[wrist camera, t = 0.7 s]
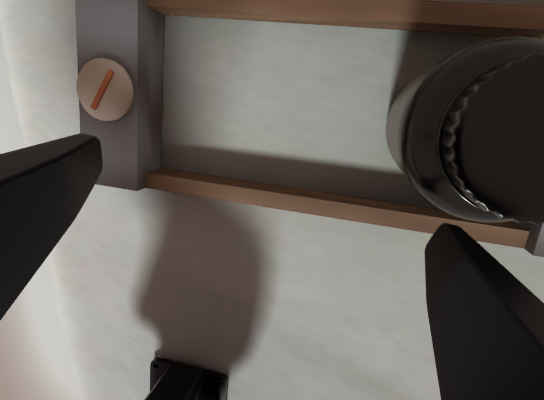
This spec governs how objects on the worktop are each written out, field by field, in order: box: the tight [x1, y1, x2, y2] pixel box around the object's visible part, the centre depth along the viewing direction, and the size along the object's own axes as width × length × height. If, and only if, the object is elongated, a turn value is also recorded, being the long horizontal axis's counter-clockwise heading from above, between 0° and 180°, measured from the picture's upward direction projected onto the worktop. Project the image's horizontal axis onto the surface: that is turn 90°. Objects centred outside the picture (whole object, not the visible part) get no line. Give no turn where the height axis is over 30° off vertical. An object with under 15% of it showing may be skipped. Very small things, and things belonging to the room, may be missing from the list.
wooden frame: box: [75, 0, 544, 257], centre depth 21 cm, size 12×31×4 cm, turn 84°
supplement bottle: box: [386, 36, 544, 224], centre depth 15 cm, size 7×7×12 cm
